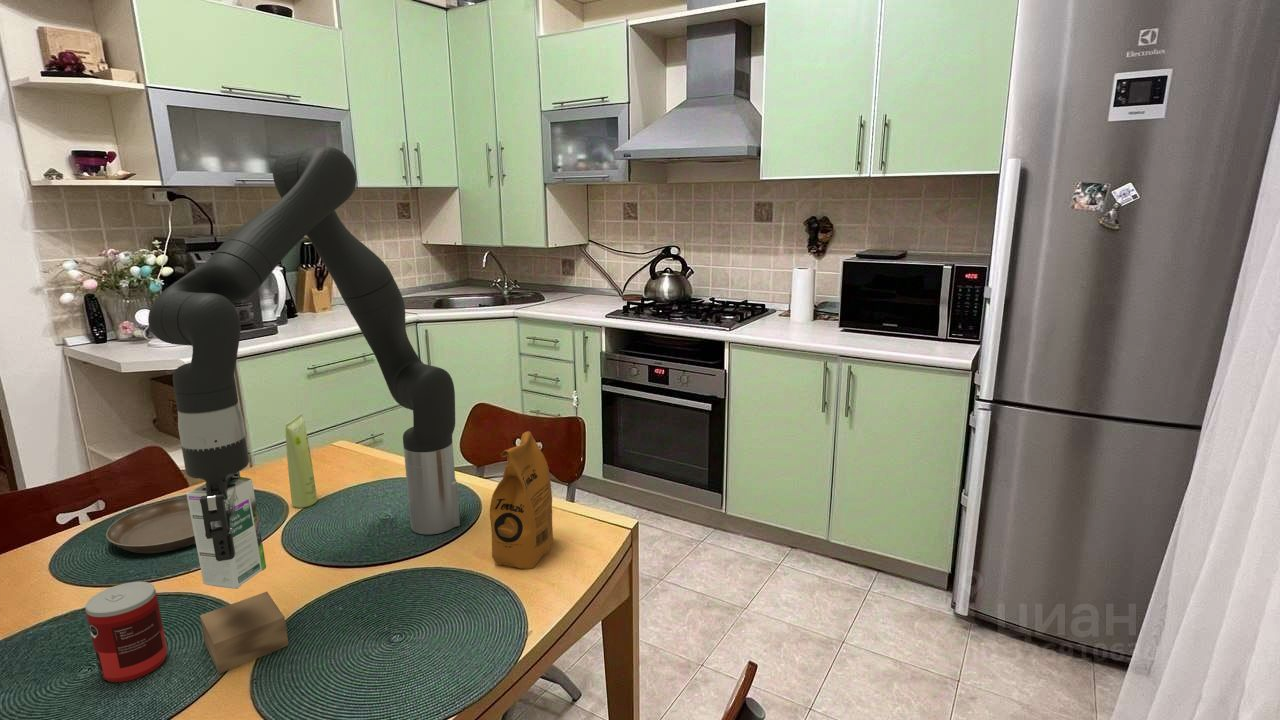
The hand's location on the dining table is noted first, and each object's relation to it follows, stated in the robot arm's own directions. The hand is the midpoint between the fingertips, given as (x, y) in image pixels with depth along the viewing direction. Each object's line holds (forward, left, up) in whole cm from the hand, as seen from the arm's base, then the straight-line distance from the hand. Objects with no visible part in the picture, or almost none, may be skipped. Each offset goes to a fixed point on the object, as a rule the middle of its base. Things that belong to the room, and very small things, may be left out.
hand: (230, 545), depth 96 cm
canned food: (+14, -1, -16) cm, 22 cm away
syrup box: (0, 0, -5) cm, 5 cm away
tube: (-5, -49, -16) cm, 52 cm away
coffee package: (-44, -10, -16) cm, 48 cm away
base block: (0, 0, -16) cm, 16 cm away
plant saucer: (+18, -45, -17) cm, 51 cm away
